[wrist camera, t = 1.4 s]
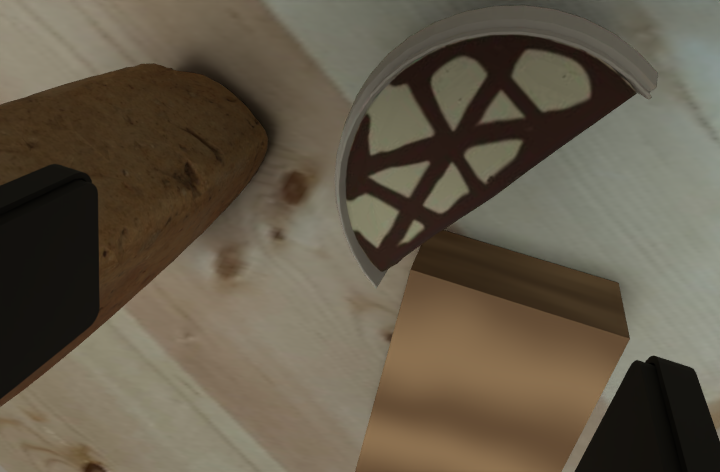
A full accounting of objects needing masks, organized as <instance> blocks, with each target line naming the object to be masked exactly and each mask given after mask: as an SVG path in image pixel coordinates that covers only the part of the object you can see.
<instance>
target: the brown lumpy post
mask: <svg viewBox="0 0 720 472" xmlns="http://www.w3.org/2000/svg"><path fill="white" fill-rule="evenodd" d="M267 145H268V137H267V134H266V131H265V130H264V128H263V127H262V125H261V124H260V123H259V121H258V120H257V119H256V118H255V117H254V116H253V114H252V113H251V112H250V110H249V109H248V108H247V107H246V106H245V105H244V104H243V103H242V102H241V101H240V100H239V99H238V98H237V97H236V96H235V95H234V94H233V93H231V92H230V91H229V90H228V89H226V88H225V87H224V86H222V85H221V84H220V83H218V82H215V81H213V80H211V79H210V78H208V77H206V76H204V75H202V74H196V73H191V72H182V71H176V70H173V69H172V68H166V67H164V66H161V65H157V64H140V65H137V66H135V67H126V68H123V69H120V70H116V71H113V72H108V73H105V74H101V75H97V76H93V77H89V78H85V79H82V80H79V81H75V82H71V83H68V84H64V85H61V86H58V87H55V88H52V89H49V90H45V91H42V92H39V93H36V94H33V95H30V96H28V97H25V98H21V99H18V100H14V101H11V102H7V103H4V104H1V105H0V185H3V184H5V183H8V182H10V181H12V180H15V179H17V178H19V177H22V176H24V175H27V174H29V173H31V172H34V171H36V170H39V169H41V168H43V167H46V166H48V165H51V164H59V165H62V166H65V167H68V168H72V169H75V170H78V171H81V172H84V173H86V174H87V175H89V176H90V178H91V180H92V184H94V185H95V186H96V188H97V190H98V227H99V297H100V308H99V313H98V316H97V318H96V320H95V322H94V323H93V324H92V325H91V326H90V327H89V328H88V329H87V330H86V331H84V332H83V333H82V334H81V335H79V336H78V337H77V338H76V339H75V340H73V341H72V342H71V343H70V344H68V345H67V346H66V347H65V348H63V349H62V350H61V351H60V352H58V353H57V354H56V355H55V356H53V357H52V358H51V359H50V360H49V361H47V362H46V363H45V364H44V365H42V366H41V367H40V368H39V369H37V370H36V371H35V372H34V373H32V374H31V375H30V376H29V377H27V378H26V379H25V380H24V381H23V382H21V383H20V384H19V385H18V386H16V387H15V388H14V389H13V390H11V391H10V392H9V393H8V394H6V395H5V396H4V397H3V398H1V399H0V407H1V406H2V405H3V404H5V403H6V402H8V401H9V400H10V399H12V398H13V397H14V396H16V395H17V394H19V393H20V392H21V391H23V390H24V389H25V388H26V387H28V386H29V385H30V384H32V383H33V382H34V381H35V380H37V379H38V378H39V377H40V376H42V375H43V374H44V373H45V372H47V371H48V370H49V369H50V368H51V367H53V366H54V365H55V364H56V363H58V362H59V361H60V360H61V359H62V358H64V357H65V356H66V355H67V354H68V353H70V352H71V351H72V350H73V349H75V348H76V347H77V346H78V345H79V344H81V343H82V342H83V341H84V340H85V339H86V338H88V337H89V336H90V335H91V334H92V333H93V332H94V331H96V330H97V329H98V328H99V327H100V326H101V325H103V324H104V323H105V322H106V321H107V320H108V319H109V318H111V317H112V316H113V315H114V314H115V313H116V312H117V311H119V310H120V309H121V308H122V307H123V306H124V305H125V304H126V303H127V302H128V301H130V300H131V299H132V298H133V297H134V296H135V295H136V294H137V293H138V292H139V291H140V290H142V289H143V288H144V287H145V286H146V285H147V284H149V283H150V282H151V281H152V280H153V279H154V278H155V277H156V276H157V275H158V274H159V273H160V272H161V271H163V270H164V269H165V268H166V267H167V266H168V265H169V264H170V263H172V262H173V261H174V260H175V259H176V258H177V257H178V256H179V255H180V254H181V253H182V252H183V251H184V250H185V249H186V248H187V247H188V246H189V245H190V244H191V243H192V242H193V241H194V240H195V239H196V238H197V237H199V236H200V235H201V234H202V233H203V232H204V231H205V230H206V229H207V228H208V227H209V226H210V225H211V224H212V223H213V221H214V220H215V219H216V218H217V217H218V216H219V215H220V214H221V213H222V212H223V211H224V210H225V209H226V208H227V207H228V206H229V205H230V204H231V203H232V202H233V201H234V200H235V198H236V197H237V196H238V195H239V194H240V193H241V191H242V190H243V189H244V188H245V186H246V185H247V184H248V183H249V181H250V180H251V179H252V177H253V176H254V174H255V173H256V172H257V170H258V168H259V166H260V164H261V163H262V161H263V159H264V156H265V154H266V151H267Z"/></svg>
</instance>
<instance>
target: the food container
mask: <svg viewBox="0 0 720 472" xmlns="http://www.w3.org/2000/svg"><path fill="white" fill-rule="evenodd" d="M657 78H658V72H657V71H656V70H655V69H654V68H653V67H652V66H651V65H650V64H649V63H648V62H647V61H646V60H645V58H644V57H643V56H642V55H641V54H640V53H639V52H638V51H636V50H635V49H634V48H633V47H631V46H630V45H629V44H627V43H626V42H625V41H623V40H622V39H621V38H619V37H618V36H617V35H615V34H614V33H612V32H610V31H608V30H606V29H604V28H603V27H601V26H599V25H597V24H595V23H593V22H591V21H589V20H587V19H585V18H581V17H578V16H575V15H572V14H569V13H565V12H562V11H559V10H556V9H549V8H541V7H534V6H527V5H513V6H491V7H486V8H481V9H476V10H470V11H465V12H462V13H459V14H456V15H453V16H451V17H448V18H445V19H443V20H440V21H437V22H435V23H433V24H431V25H430V26H428V27H426V28H424V29H422V30H421V31H419V32H417V33H415V34H414V35H412V36H410V37H409V38H408V39H406V40H405V41H404V42H403V43H401V44H400V45H399V46H398V47H396V48H395V49H394V50H393V51H391V52H390V53H389V54H388V55H387V56H386V57H385V58H384V59H383V61H382V62H381V63H380V64H379V65H378V66H377V67H376V68H375V69H374V71H373V72H372V73H371V74H370V76H369V77H368V79H367V80H366V82H365V83H364V85H363V86H362V88H361V90H360V91H359V93H358V94H357V96H356V98H355V101H354V103H353V105H352V108H351V110H350V112H349V115H348V117H347V119H346V123H345V126H344V129H343V132H342V136H341V140H340V144H339V148H338V152H337V157H336V168H335V193H336V204H337V208H338V212H339V217H340V221H341V225H342V229H343V233H344V235H345V238H346V240H347V243H348V245H349V248H350V250H351V253H352V255H353V256H354V258H355V260H356V261H357V263H358V265H359V267H360V268H361V270H362V272H363V273H364V274H365V276H366V277H367V278H368V280H369V281H370V282H371V283H372V285H373V286H374V287H375V288H377V287H378V285H379V283H380V282H381V280H382V278H383V277H384V275H385V273H386V272H387V270H388V269H389V268H390V267H391V266H393V265H395V264H397V263H398V262H399V261H400V260H401V259H402V258H404V257H405V256H406V255H408V254H409V253H410V252H412V251H413V250H414V249H416V248H417V247H419V246H420V245H422V244H423V243H425V242H426V241H427V240H429V239H430V238H432V237H433V236H435V235H436V234H438V233H439V232H441V231H442V230H444V229H445V228H447V227H448V226H450V225H451V224H452V223H454V222H455V221H457V220H458V219H460V218H462V217H463V216H465V215H466V214H468V213H469V212H471V211H472V210H474V209H475V208H477V207H479V206H480V205H482V204H483V203H485V202H486V201H488V200H489V199H491V198H492V197H494V196H495V195H497V194H498V193H499V192H501V191H502V190H503V189H505V188H506V187H507V186H509V185H510V184H511V183H513V182H514V181H515V180H517V179H518V178H519V177H520V176H522V175H523V174H524V173H526V172H527V171H529V170H530V169H531V168H533V167H534V166H535V165H537V164H538V163H540V162H541V161H542V160H544V159H545V158H546V157H548V156H549V155H551V154H552V153H553V152H555V151H556V150H558V149H559V148H560V147H562V146H563V145H565V144H566V143H567V142H569V141H570V140H572V139H573V138H575V137H576V136H577V135H579V134H580V133H582V132H583V131H584V130H586V129H587V128H589V127H590V126H592V125H593V124H594V123H596V122H597V121H599V120H600V119H601V118H603V117H604V116H606V115H607V114H608V113H610V112H611V111H613V110H614V109H616V108H617V107H618V106H620V105H621V104H623V103H624V102H625V101H627V100H628V99H630V98H631V97H632V96H634V95H635V94H637V93H639V94H641V95H642V96H644V97H646V98H647V99H651V98H652V97H651V95H650V92H651V91H652V90H654V89H655V88H656V87H657ZM636 92H637V93H636Z"/></svg>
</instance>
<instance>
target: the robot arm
mask: <svg viewBox="0 0 720 472" xmlns="http://www.w3.org/2000/svg"><path fill="white" fill-rule="evenodd" d="M99 308H100V297H99V227H98V190H97V188H96V186H95V185H94V184H92V180H91V178H90V176H89V175H87V174H86V173H84V172H81V171H78V170H75V169H72V168H68V167H65V166H62V165H59V164H51V165H48V166H46V167H43V168H41V169H39V170H36V171H34V172H31V173H29V174H27V175H24V176H22V177H19V178H17V179H15V180H12V181H10V182H8V183H5V184H3V185H0V399H1V398H3V397H4V396H5V395H6V394H8V393H9V392H10V391H11V390H13V389H14V388H15V387H16V386H18V385H19V384H20V383H21V382H23V381H24V380H25V379H26V378H27V377H29V376H30V375H31V374H32V373H34V372H35V371H36V370H37V369H39V368H40V367H41V366H42V365H44V364H45V363H46V362H47V361H49V360H50V359H51V358H52V357H53V356H55V355H56V354H57V353H58V352H60V351H61V350H62V349H63V348H65V347H66V346H67V345H68V344H70V343H71V342H72V341H73V340H75V339H76V338H77V337H78V336H79V335H81V334H82V333H83V332H84V331H86V330H87V329H88V328H89V327H90V326H91V325H92V324H93V323H94V322H95V320H96V318H97V316H98V313H99ZM575 472H720V441H719V438H718V435H717V432H716V429H715V427H714V424H713V421H712V418H711V415H710V412H709V409H708V406H707V403H706V401H705V398H704V395H703V392H702V389H701V386H700V383H699V380H698V377H697V375H696V372H695V371H694V369H693V368H691V367H688V366H685V365H682V364H678V363H675V362H672V361H669V360H666V359H663V358H660V357H657V356H651V357H649V358H648V359H647V360H646V362H641V361H638V360H636V361H634V362H633V363H632V364H631V366H630V368H629V369H628V371H627V373H626V375H625V377H624V379H623V381H622V383H621V385H620V387H619V388H618V390H617V392H616V394H615V396H614V398H613V400H612V402H611V404H610V406H609V407H608V409H607V411H606V413H605V415H604V417H603V419H602V421H601V423H600V424H599V426H598V428H597V430H596V432H595V434H594V436H593V438H592V440H591V442H590V443H589V445H588V447H587V449H586V451H585V453H584V455H583V457H582V459H581V461H580V462H579V464H578V466H577V468H576V470H575Z"/></svg>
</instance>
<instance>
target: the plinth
mask: <svg viewBox="0 0 720 472" xmlns="http://www.w3.org/2000/svg"><path fill="white" fill-rule="evenodd" d="M629 340H630V337H629V332H628V327H627V322H626V317H625V312H624V308H623V303H622V298H621V293H620V288H619V283H617V282H613V281H610V280H607V279H603V278H600V277H597V276H593V275H590V274H587V273H583V272H580V271H577V270H574V269H570V268H567V267H564V266H560V265H557V264H554V263H550V262H547V261H544V260H540V259H537V258H534V257H531V256H527V255H524V254H521V253H517V252H514V251H511V250H507V249H504V248H501V247H497V246H494V245H491V244H487V243H484V242H481V241H478V240H474V239H471V238H468V237H464V236H461V235H458V234H454V233H451V232H448V231H444V230H442V231H441V232H439V233H438V234H436V235H435V236H433V237H432V238H430V239H429V240H427V241H426V242H425V243H423V244H422V245H421V247H420V249H419V251H418V254H417V256H416V258H415V261H414V263H413V265H412V268H411V270H410V274H409V277H408V281H407V285H406V288H405V292H404V296H403V299H402V303H401V307H400V310H399V314H398V318H397V321H396V325H395V328H394V332H393V336H392V339H391V343H390V347H389V350H388V354H387V358H386V361H385V365H384V369H383V372H382V376H381V379H380V383H379V387H378V390H377V394H376V398H375V401H374V405H373V409H372V412H371V416H370V420H369V423H368V427H367V430H366V434H365V438H364V441H363V445H362V449H361V452H360V456H359V460H358V463H357V467H356V471H355V472H561V471H562V469H563V467H564V465H565V463H566V462H567V460H568V458H569V456H570V454H571V452H572V450H573V448H574V446H575V444H576V442H577V440H578V438H579V436H580V434H581V432H582V431H583V429H584V427H585V425H586V423H587V421H588V419H589V417H590V415H591V413H592V411H593V409H594V407H595V405H596V403H597V401H598V400H599V398H600V396H601V394H602V392H603V390H604V388H605V386H606V384H607V382H608V380H609V378H610V376H611V374H612V372H613V371H614V369H615V367H616V365H617V363H618V361H619V359H620V357H621V355H622V353H623V351H624V349H625V347H626V345H627V343H628V341H629Z"/></svg>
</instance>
